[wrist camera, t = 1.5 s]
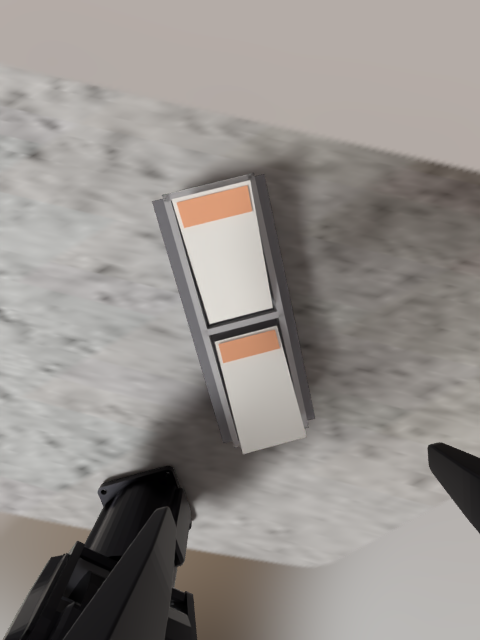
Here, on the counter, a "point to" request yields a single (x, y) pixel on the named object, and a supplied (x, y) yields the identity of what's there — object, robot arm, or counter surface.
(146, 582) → the robot arm
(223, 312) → the rocker
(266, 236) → the rocker switch panel
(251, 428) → the block
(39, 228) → the counter surface
